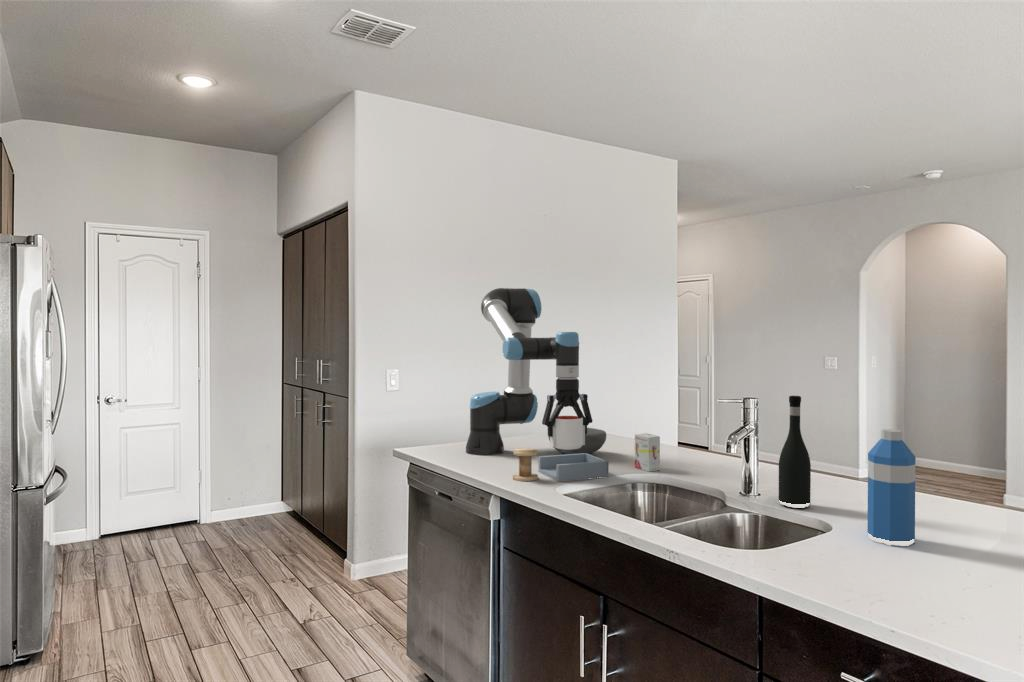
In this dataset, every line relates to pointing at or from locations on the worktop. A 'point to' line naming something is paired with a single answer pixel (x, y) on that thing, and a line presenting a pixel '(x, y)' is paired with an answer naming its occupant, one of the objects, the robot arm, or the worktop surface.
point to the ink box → (647, 452)
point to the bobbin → (525, 465)
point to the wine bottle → (794, 462)
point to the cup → (569, 432)
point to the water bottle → (891, 488)
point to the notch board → (573, 467)
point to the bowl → (588, 442)
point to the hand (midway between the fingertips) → (567, 445)
